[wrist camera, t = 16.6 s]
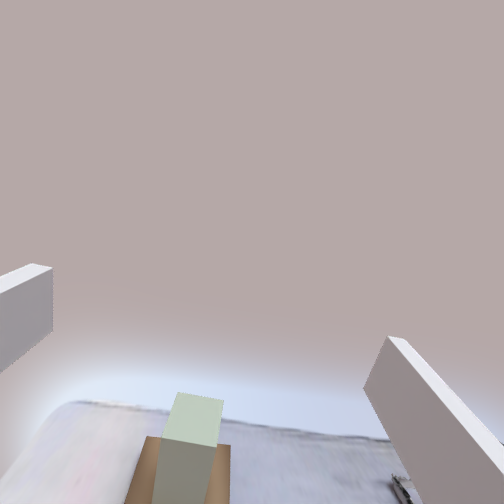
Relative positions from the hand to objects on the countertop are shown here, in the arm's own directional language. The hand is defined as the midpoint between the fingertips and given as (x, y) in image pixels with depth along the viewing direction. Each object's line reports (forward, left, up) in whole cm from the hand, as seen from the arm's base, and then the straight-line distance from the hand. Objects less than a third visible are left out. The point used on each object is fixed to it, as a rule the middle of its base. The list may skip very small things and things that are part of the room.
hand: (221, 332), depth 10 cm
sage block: (0, -10, -28) cm, 30 cm away
